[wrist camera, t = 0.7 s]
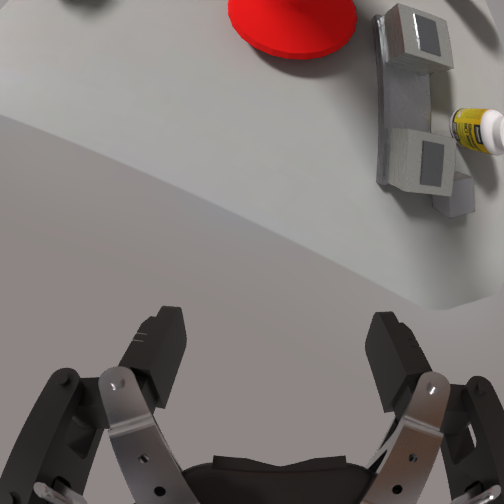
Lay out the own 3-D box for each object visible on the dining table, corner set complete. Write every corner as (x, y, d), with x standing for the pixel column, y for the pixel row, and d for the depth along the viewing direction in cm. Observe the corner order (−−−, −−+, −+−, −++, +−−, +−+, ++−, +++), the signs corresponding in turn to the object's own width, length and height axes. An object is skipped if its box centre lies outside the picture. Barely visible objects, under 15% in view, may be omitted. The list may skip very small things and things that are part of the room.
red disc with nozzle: (329, 84, 29) (342, 73, 23) (212, 44, 28) (199, 26, 21) (364, 0, 23) (380, -20, 16) (256, -37, 21) (253, -62, 15)
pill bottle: (441, 122, 29) (490, 126, 19) (462, 101, 27) (510, 101, 17) (461, 155, 30) (509, 169, 20) (480, 134, 28) (528, 143, 18)
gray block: (429, 175, 32) (448, 182, 28) (454, 170, 32) (473, 177, 27) (432, 207, 34) (450, 218, 30) (456, 201, 34) (474, 211, 29)
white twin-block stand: (371, 19, 24) (393, -2, 17) (421, 32, 23) (449, 18, 16) (376, 182, 34) (401, 195, 26) (424, 186, 33) (454, 201, 26)
